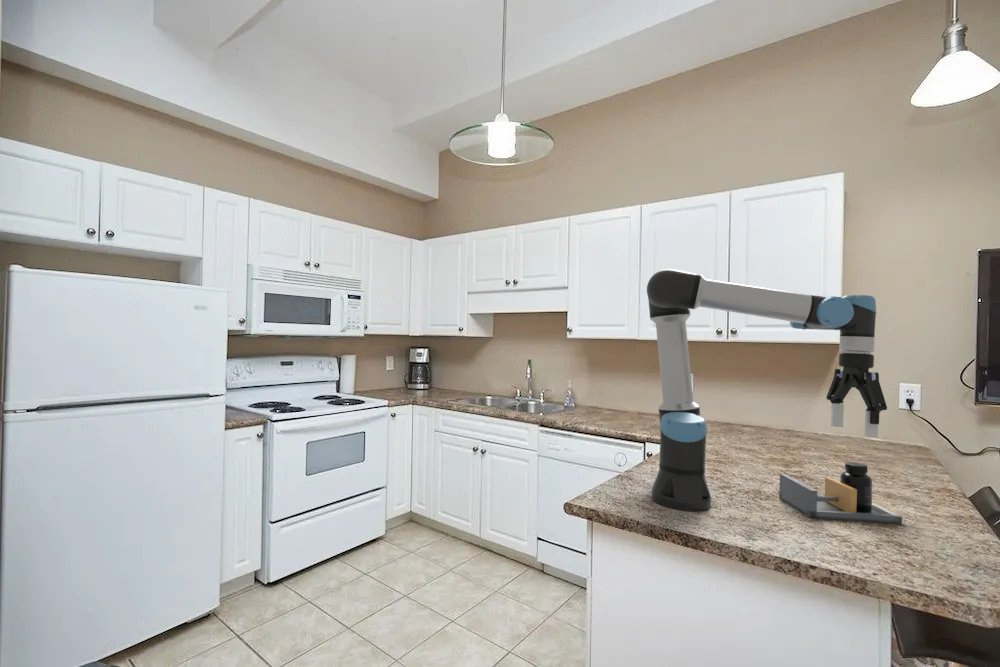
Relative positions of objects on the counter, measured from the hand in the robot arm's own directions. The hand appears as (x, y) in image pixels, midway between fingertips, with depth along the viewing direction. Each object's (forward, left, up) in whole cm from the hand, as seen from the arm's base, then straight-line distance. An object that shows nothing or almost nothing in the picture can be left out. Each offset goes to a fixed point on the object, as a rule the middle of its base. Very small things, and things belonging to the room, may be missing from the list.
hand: (853, 431), depth 126 cm
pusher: (-6, -1, -20) cm, 21 cm away
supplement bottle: (+1, -1, -21) cm, 21 cm away
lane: (-4, -1, -21) cm, 22 cm away
